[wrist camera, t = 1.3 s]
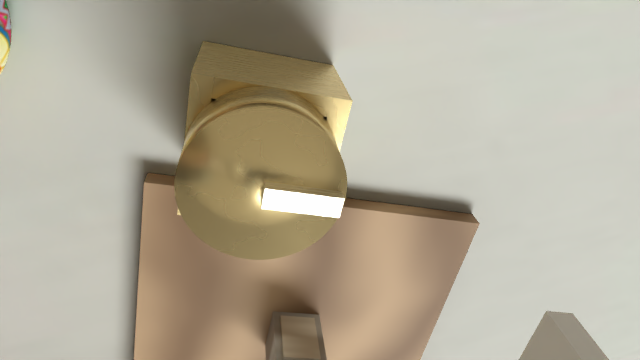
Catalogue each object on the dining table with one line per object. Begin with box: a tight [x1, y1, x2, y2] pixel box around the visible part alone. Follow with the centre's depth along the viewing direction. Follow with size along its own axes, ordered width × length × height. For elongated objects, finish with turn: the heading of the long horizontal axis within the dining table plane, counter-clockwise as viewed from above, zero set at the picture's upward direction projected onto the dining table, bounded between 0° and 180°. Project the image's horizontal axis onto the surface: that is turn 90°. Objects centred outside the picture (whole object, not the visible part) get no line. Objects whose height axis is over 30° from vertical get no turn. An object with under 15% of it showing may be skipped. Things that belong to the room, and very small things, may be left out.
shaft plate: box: [134, 173, 479, 360], centre depth 28 cm, size 18×18×5 cm
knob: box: [174, 41, 352, 260], centre depth 20 cm, size 6×6×8 cm
